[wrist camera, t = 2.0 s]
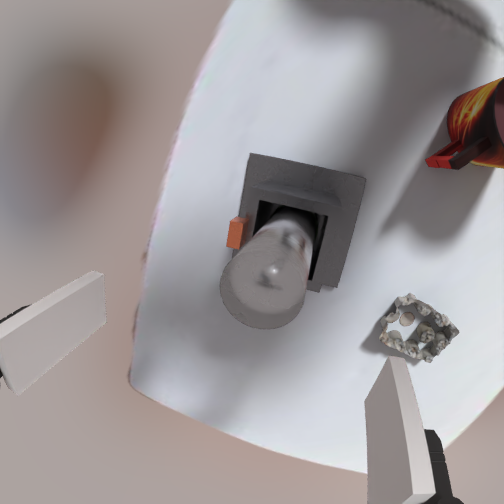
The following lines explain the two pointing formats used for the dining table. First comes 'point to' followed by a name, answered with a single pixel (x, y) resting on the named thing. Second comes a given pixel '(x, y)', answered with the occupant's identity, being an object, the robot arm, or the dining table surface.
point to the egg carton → (418, 330)
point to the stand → (302, 197)
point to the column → (271, 270)
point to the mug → (475, 129)
